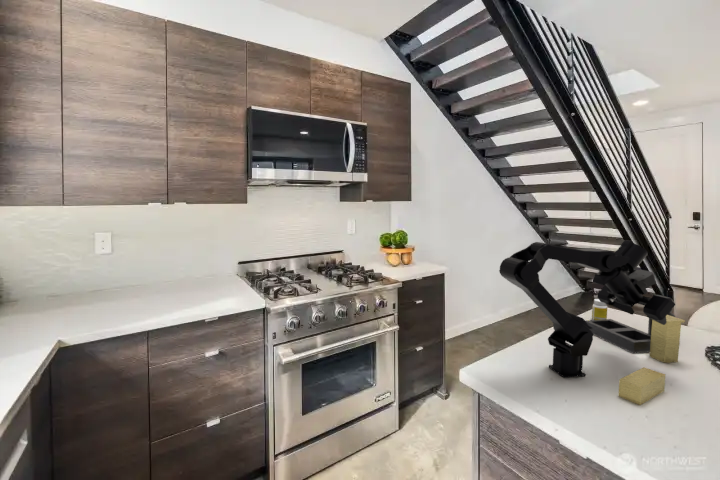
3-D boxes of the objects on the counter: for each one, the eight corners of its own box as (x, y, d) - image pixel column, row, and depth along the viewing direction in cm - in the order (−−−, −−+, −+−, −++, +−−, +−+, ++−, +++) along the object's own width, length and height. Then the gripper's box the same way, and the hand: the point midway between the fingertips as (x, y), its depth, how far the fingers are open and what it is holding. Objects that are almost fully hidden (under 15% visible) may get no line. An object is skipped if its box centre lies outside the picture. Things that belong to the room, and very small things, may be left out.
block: (640, 406, 82) (641, 387, 82) (618, 397, 86) (619, 379, 86) (664, 391, 88) (665, 374, 88) (642, 383, 92) (643, 367, 92)
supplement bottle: (609, 323, 135) (610, 302, 134) (596, 323, 135) (598, 302, 134) (601, 319, 140) (602, 298, 139) (588, 319, 140) (590, 298, 139)
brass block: (664, 363, 102) (667, 321, 101) (646, 355, 108) (649, 315, 106) (681, 362, 103) (684, 320, 102) (662, 354, 109) (665, 314, 107)
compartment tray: (633, 353, 109) (634, 342, 109) (583, 330, 129) (584, 320, 129) (663, 351, 111) (664, 340, 110) (609, 328, 130) (610, 318, 130)
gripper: (672, 267, 91) (702, 306, 94) (607, 256, 109) (634, 289, 112) (644, 300, 90) (676, 338, 93) (584, 283, 108) (612, 316, 112)
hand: (648, 318), depth 103 cm, fingers open, 9 cm apart
